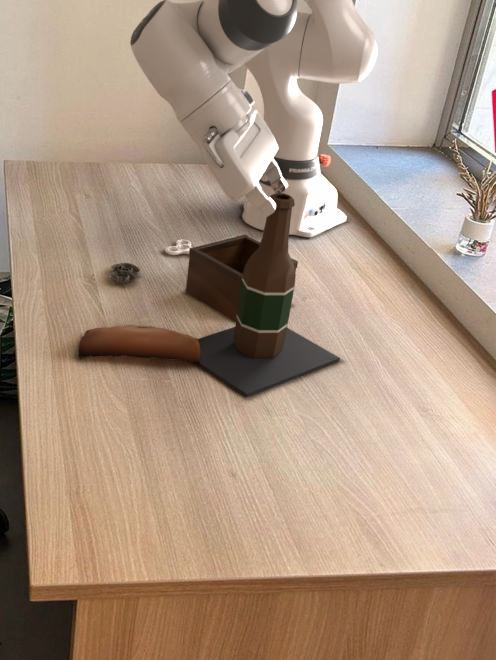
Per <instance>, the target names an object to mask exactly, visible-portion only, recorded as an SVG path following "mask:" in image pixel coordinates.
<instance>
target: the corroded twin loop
mask: <svg viewBox="0 0 496 660" xmlns="http://www.w3.org/2000/svg"><path fill="white" fill-rule="evenodd" d="M110 268H111V269H112V271H111V272H108V276H109V277H110V280H111V281H112V282H113V283H114V284H117V285H121V286H123V285H128V284H132V283H134V282H135V280H136V279H137V276H138V275H139V272H140V271H141V269H140V268H139V267H138V266H136V265H135V264H132V263H129V262H119V263H115V264H112V265H111V266H110Z"/></svg>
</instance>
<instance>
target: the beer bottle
mask: <svg viewBox="0 0 496 660" xmlns="http://www.w3.org/2000/svg"><path fill="white" fill-rule="evenodd" d="M270 197H271V199H272V200H273V202H274V203H275V204H276V210H275V211H274V213H272V214H271V215H269V216H268V217H267V218H266V223H265V227H264V231H263V232H262V237H261V240H260V242H261V243H260V246H259V248H258V249H257V250H256V251H255V252H254V253H253V254H252V255H251V257H250V258H249V260H248V262H247V263H246V265H245V268H244V272H243V277H242V283H241V290H240V297H239V304H238V311H237V317H236V322H235V326H234V327H235V331H234V343H235V345H236V347H237V349H238V351H239V352H240V353H242V354H245V355H247V356H250V357H252V358H273V357H274V356H276V355H277V354H278V353H280V352H281V351H282V349H283V345H284V341H285V336H286V331H287V328H288V325H289V321H290V320H289V319H290V313H291V309H292V308H291V307H292V303H293V298H294V292H295V285H296V273H295V269H294V264H293V262H292V260H291V258H292V257H291V255H290V253H289V241H290V240H289V239H290V235H289V231H290V221H291V212H292V207H293V206H295V204H294V199H293V198H292V196H290V195H287V194H284V193H275V194H273V195H271V196H270Z"/></svg>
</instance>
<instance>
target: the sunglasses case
mask: <svg viewBox="0 0 496 660" xmlns="http://www.w3.org/2000/svg"><path fill="white" fill-rule="evenodd" d="M198 339H199V338H195V337H193V336H191V335H189V334H185V333H181V332H179V331H176V330H171V329H169V328H163V327H157V326H152V325H151V326H150V325H142V324H141V325H137V324H136V325H135V324H126V325H125V324H124V325H113V326H105V327H94V328H91V329H88V330H86V331H85V332H84V333H83V336H82V337H80V340H79V345H78V350H77V353H78V356H77V357H93V358H94V357H95V358H96V357H98V358H99V357H107V358H108V357H112V358H113V357H114V358H116V357H127V358H137V359H157V360H165V361H166V360H167V361H168V360H169V361H183V362H192V363H193V362H198V363H200V364H201V349H200V344H199V340H198Z"/></svg>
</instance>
